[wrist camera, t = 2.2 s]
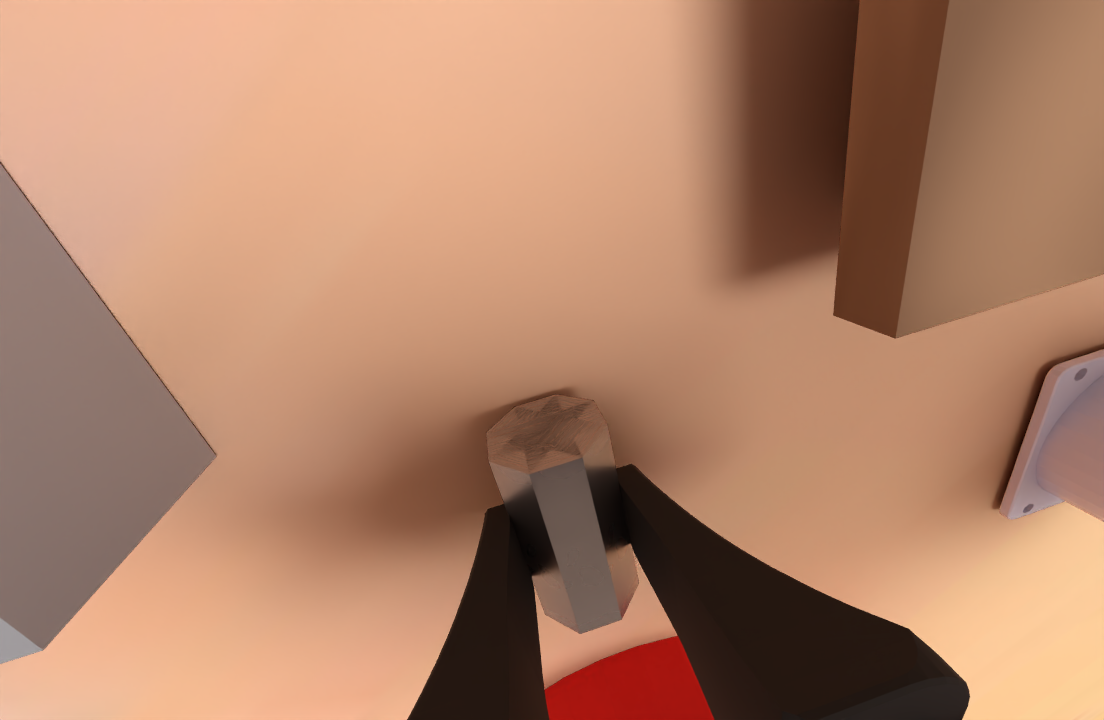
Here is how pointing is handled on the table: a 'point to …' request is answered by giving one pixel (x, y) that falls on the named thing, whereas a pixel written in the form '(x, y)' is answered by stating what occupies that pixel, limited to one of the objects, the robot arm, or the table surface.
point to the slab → (970, 158)
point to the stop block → (72, 436)
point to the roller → (566, 508)
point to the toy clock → (632, 687)
